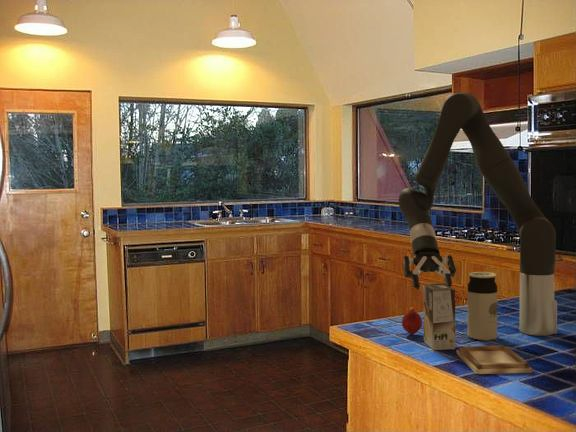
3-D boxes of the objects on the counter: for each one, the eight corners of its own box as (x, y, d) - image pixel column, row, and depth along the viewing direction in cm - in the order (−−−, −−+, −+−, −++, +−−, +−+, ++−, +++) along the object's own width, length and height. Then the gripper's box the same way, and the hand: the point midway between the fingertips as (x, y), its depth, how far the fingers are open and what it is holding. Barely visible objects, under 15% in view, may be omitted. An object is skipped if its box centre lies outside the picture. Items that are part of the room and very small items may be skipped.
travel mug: (461, 335, 175) (461, 273, 174) (483, 332, 178) (483, 270, 177) (480, 342, 168) (480, 277, 166) (503, 338, 171) (503, 274, 169)
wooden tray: (506, 352, 158) (506, 344, 158) (532, 372, 142) (532, 364, 142) (456, 353, 158) (456, 346, 158) (476, 374, 142) (476, 365, 142)
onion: (422, 338, 173) (422, 310, 173) (401, 337, 174) (401, 309, 174) (422, 332, 179) (421, 305, 178) (402, 332, 180) (401, 305, 179)
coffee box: (456, 349, 161) (456, 289, 160) (432, 350, 161) (432, 290, 160) (444, 340, 171) (444, 283, 169) (422, 341, 170) (421, 284, 169)
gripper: (401, 234, 178) (409, 280, 168) (450, 233, 178) (461, 279, 168) (398, 250, 184) (405, 295, 173) (445, 249, 184) (456, 294, 173)
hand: (433, 287), depth 170 cm, fingers open, 8 cm apart
